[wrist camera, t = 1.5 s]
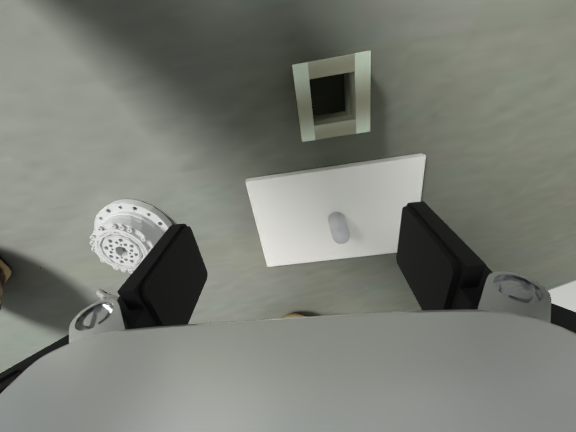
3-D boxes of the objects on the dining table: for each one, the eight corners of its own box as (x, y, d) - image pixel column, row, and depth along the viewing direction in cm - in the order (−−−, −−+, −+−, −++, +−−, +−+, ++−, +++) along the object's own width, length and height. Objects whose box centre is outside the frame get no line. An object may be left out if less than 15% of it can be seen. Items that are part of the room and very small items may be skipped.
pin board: (246, 178, 30) (238, 199, 25) (421, 153, 28) (448, 170, 23) (268, 262, 36) (264, 291, 31) (411, 246, 34) (430, 274, 30)
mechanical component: (175, 266, 37) (180, 209, 32) (162, 288, 33) (166, 228, 28) (104, 250, 36) (98, 188, 31) (81, 271, 32) (71, 205, 27)
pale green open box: (292, 65, 24) (292, 64, 19) (356, 53, 23) (370, 50, 19) (300, 130, 27) (302, 142, 22) (357, 121, 26) (370, 131, 22)
